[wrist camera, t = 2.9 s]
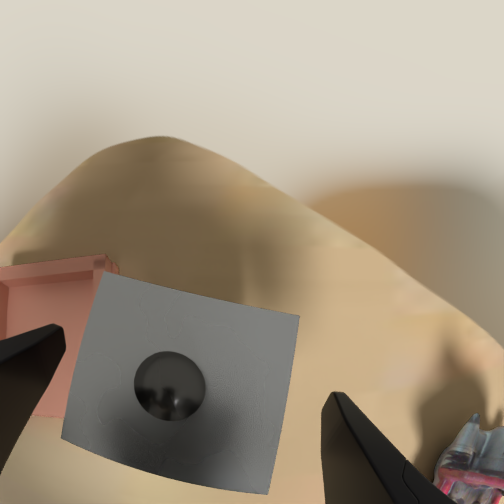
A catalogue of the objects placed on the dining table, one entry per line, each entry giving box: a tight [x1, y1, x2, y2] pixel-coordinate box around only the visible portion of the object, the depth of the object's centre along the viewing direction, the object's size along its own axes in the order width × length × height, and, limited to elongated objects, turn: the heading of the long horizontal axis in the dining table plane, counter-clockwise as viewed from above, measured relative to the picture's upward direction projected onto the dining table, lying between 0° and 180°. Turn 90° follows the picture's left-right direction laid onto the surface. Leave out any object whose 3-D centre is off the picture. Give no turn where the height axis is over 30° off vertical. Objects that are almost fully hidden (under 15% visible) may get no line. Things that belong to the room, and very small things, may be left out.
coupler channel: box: [0, 254, 119, 418], centre depth 15 cm, size 10×10×2 cm
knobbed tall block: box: [61, 271, 300, 495], centre depth 11 cm, size 4×5×13 cm
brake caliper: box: [432, 413, 504, 504], centre depth 12 cm, size 11×11×12 cm
